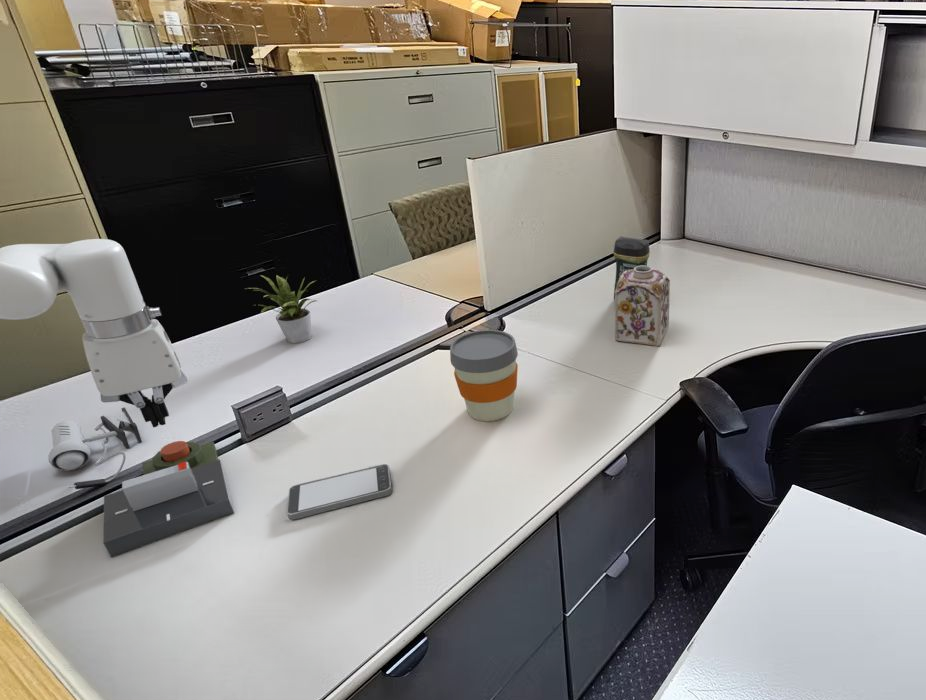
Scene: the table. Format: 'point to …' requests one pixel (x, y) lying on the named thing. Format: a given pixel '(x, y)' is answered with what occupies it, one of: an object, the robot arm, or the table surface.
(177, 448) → the button
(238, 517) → the table surface
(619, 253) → the coffee jar
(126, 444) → the clip-on lamp
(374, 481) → the smartphone
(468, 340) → the reusable coffee cup
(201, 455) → the button housing
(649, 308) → the decorative jar
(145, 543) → the dial base
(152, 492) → the bevelled grey block
